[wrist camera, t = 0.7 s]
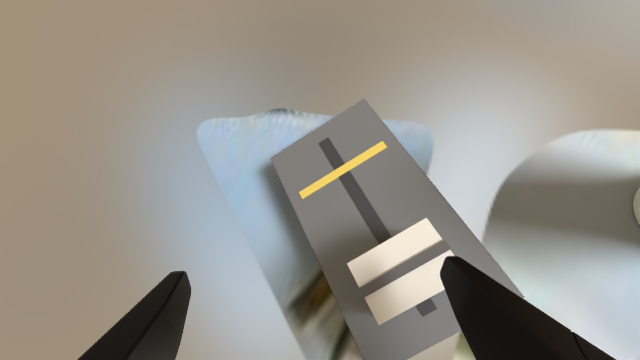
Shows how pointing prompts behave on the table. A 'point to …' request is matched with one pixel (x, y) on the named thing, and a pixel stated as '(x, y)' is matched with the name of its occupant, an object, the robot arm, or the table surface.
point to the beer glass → (637, 205)
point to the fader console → (373, 223)
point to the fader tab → (401, 270)
